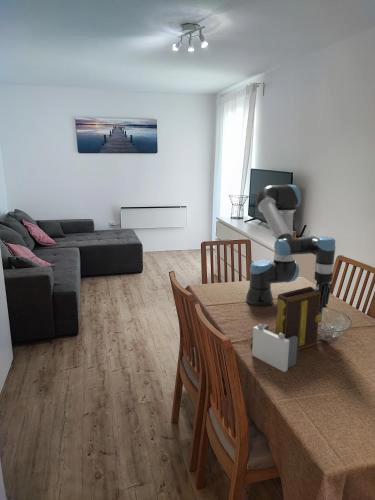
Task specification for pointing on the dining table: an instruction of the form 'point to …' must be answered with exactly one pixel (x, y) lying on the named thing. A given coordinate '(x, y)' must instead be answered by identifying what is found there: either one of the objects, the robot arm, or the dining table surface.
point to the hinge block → (252, 340)
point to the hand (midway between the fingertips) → (319, 320)
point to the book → (299, 315)
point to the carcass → (274, 348)
